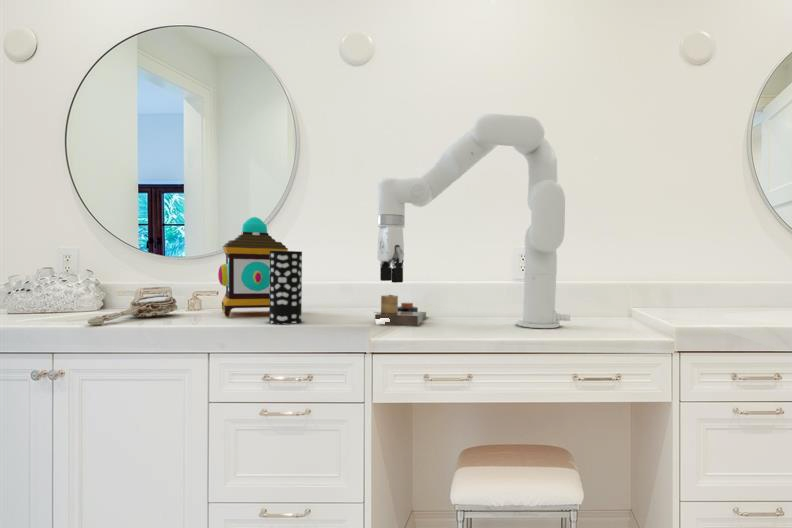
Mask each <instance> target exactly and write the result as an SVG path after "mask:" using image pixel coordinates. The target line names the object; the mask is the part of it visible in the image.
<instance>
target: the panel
mask: <svg viewBox="0 0 792 528" xmlns="http://www.w3.org/2000/svg"><path fill="white" fill-rule="evenodd" d="M423 312H424V311H418V312H401V311H398V313H395V314H385V313H381V311H380V312H379V311H373V313H374V320H375V319H380V318H389V319H390V322H385V325H384V326H396V327H397V326H398V327H400V326H401V327H418V326H420V325H421V324H422V323H423V320H422V316H423Z"/></svg>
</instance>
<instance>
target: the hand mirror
mask: <svg viewBox="0 0 792 528" xmlns="http://www.w3.org/2000/svg"><path fill="white" fill-rule="evenodd" d="M178 306H179V305H178V304H177V300H176V299H175V297H173V296H172V295H170V294H169V295H165V294H155V295H147V296H142V297H137V298H136V299H134V300H132V301H131V302H130V305H129V308H127V309H125V310H121V311H120V312H112V313H109V314H103V315H101V316H99V315H97V316H93V317H91V318H89V319H87V324H88V325H90V326H101V325H103V324H104V323H105V322H110V321H114V320H116V319H118V318H120V317H126V316H133V317H136V318H145V319H146V318H153V317H157V316H161V315H164V314H168V313H172V312H174V311H176V310H177V309H178V308H179V307H178Z"/></svg>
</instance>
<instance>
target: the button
mask: <svg viewBox="0 0 792 528" xmlns="http://www.w3.org/2000/svg"><path fill="white" fill-rule="evenodd" d="M400 306H401V308H413V307H414V303H413V302H401V303H400Z"/></svg>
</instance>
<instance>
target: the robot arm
mask: <svg viewBox="0 0 792 528" xmlns="http://www.w3.org/2000/svg"><path fill="white" fill-rule="evenodd" d="M497 146H504V147H505V146H506V147H513V149H514V150H515V151H517V152H518V153H519V154H521V155H522V156H523V157H524V158H525V160H526V162H527V167H528V169H527V170H528V183H527V185H528V186H527V187H528V189H527V205H528V208H529V209H530V212H531V213H530V214H531V215H530V224H529V226H528V227H527V229H526V231H525V235H524V279H523V282H524V283H523V284H524V285H523V308H522V309H523V310H522V319H519V320H518V321H517V326H520V327H524V328H532V329H555V328H559V327H560V324H561V323H560V321H564V322H571V314H563V313H558V312H557V311H556V294H557V293H556V292H557V271H558V270H557V269H558V259H557V258H558V256H557V250H558V249H559V248H560V247H561V245H562V243H563V242H564V239H565V227H566V226H565V225H566V224H565V223H566V195H565V192H564V189H563V186H562V185H560V183H558V161H557V155H556V152H555V150H554V148H553V147H552V145H551V144H550V142H549V141H548V140H547V139H546V138H545V128H544V125H543V123H542V122H541V121H540V120H539V119H537V118H536V117H533V116H528V115H515V114H502V113H501V114H500V113H486V114H482V115H481V116H479V117H478V118H477V119H476V120H475V122H474V125H473V126H472V127H471V128H470V129H469V130H468V131H466V132H465V133H464V134H463V135H461V137H459V138H458V139H457V140H456V141H454V142H453V143H451V144H450V145H449V146H448V147H446V149H445V150H444V151H443V152H442V154H441V155H440V157H439V159H438V160H437V161H436V163H435V164H433V166H432V167H431V168H430V169H429V170H427V172H426V173H424V174H423V175H422V176H421V177H410V178H396V177H395V178H393V177H385V178H381V179H379V180H378V183H377V227H378V228H379V229H378V237H377V238H378V239H377V257H376V258H377V260H378V262H380V263H379V267H380V271H379V273H380V274H379V275H380V276H379V278H380V281H381V282H391V283H395V284H397V283H399V284H400V283H403V282H404V262H405V261H404V258H405V242H404V229H405V227H406V225H405V220H406V206H405V205H406V204H411V205H412V206H414V207H418V208H422V207H425V206H427V205H429V204H430V203H431V202H432V201H434V200H435V199H436V198H437V197H439V195H441V194H442V193H443V192H444V191H445V190H447V189H448V188H449V187H450V186H451V185H453V183H455V182H456V181H458V180H459V179H460V178H461V177H463V175H465V174H466V173H467V172H468V171H470V169H472V168H473V167H474V166H475V165H477V164H478V163H479V162H480V161H481V160H482V159H484V157H486V156H487V155H488V154H490V153H491V152H492V151H493V150H494V149H496V147H497ZM403 228H404V229H403Z"/></svg>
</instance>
